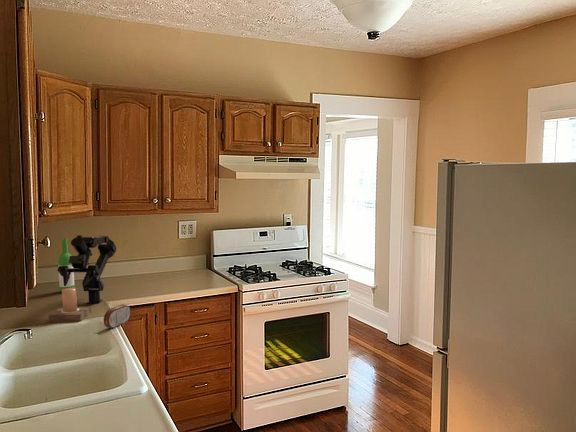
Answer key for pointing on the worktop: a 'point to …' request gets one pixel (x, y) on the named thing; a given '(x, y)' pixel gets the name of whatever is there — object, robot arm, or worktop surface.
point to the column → (69, 299)
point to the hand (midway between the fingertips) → (74, 285)
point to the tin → (117, 316)
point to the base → (69, 315)
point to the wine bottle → (64, 261)
